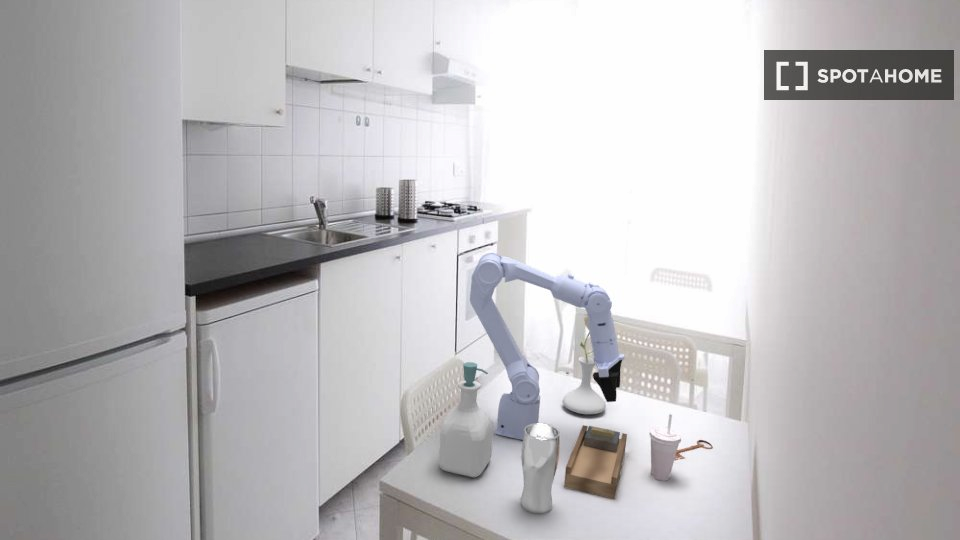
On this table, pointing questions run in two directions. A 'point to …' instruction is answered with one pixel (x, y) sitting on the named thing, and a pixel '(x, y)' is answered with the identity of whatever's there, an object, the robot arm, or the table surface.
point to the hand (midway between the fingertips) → (613, 394)
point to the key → (692, 449)
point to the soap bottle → (466, 431)
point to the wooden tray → (594, 467)
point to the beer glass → (539, 466)
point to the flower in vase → (585, 388)
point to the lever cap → (602, 439)
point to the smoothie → (663, 450)
